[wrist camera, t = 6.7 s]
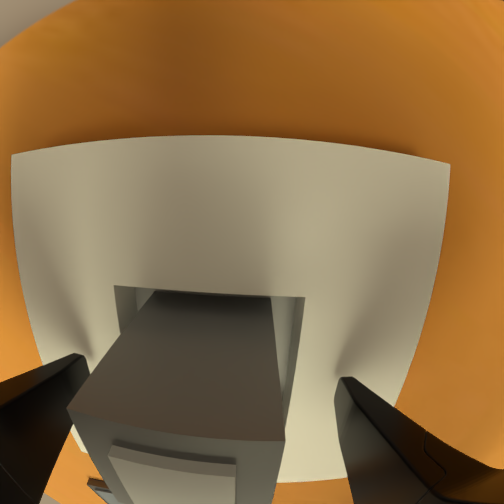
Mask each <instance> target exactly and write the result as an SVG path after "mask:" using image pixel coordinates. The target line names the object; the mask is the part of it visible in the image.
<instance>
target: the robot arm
mask: <svg viewBox="0 0 504 504" xmlns="http://www.w3.org/2000/svg"><path fill="white" fill-rule="evenodd" d="M89 376H90V371H89V368H88V364H87V360H86V357H85V356H84V355H82V354H77V353H72V354H70V355H67V356H65V357H62V358H60V359H58V360H55V361H53V362H50V363H48V364H45V365H43V366H40V367H38V368H35V369H33V370H31V371H28V372H26V373H23V374H21V375H18V376H15V377H13V378H10V379H8V380H5V381H3V382H0V504H39V503H40V500H41V498H42V495H43V493H44V490H45V487H46V485H47V482H48V480H49V478H50V475H51V473H52V470H53V468H54V466H55V463H56V461H57V459H58V456H59V454H60V452H61V450H62V447H63V445H64V443H65V441H66V438H67V436H68V434H69V432H70V430H71V428H72V426H73V422H72V420H71V418H70V415H69V413H68V411H67V406H68V405H69V403H70V402H71V401H72V399H73V398H74V396H75V395H76V394H77V392H78V391H79V389H80V388H81V387H82V385H83V384H84V382H85V381H86V380H87V378H88V377H89ZM334 408H335V415H336V423H337V431H338V439H339V444H340V449H341V452H342V456H343V460H344V464H345V468H346V472H347V476H348V480H349V484H350V489H351V493H352V497H353V501H354V504H504V469H495V468H492V467H489V466H487V465H485V464H483V463H481V462H479V461H477V460H475V459H473V458H471V457H469V456H467V455H465V454H464V453H462V452H460V451H458V450H456V449H455V448H453V447H451V446H449V445H448V444H446V443H444V442H443V441H441V440H440V439H438V438H437V437H435V436H434V435H432V434H431V433H430V432H428V431H426V430H425V429H424V428H422V427H421V426H420V425H418V424H417V423H415V422H414V421H413V420H411V419H410V418H408V417H407V416H406V415H404V414H403V413H401V412H400V411H399V410H397V409H396V408H395V407H393V406H392V405H390V404H389V403H388V402H386V401H385V400H384V399H382V398H381V397H380V396H378V395H377V394H376V393H374V392H373V391H372V390H370V389H369V388H368V387H366V386H365V385H364V384H362V383H361V382H360V381H358V380H357V379H356V378H354V377H352V376H346V377H340V378H339V380H338V384H337V387H336V391H335V395H334Z"/></svg>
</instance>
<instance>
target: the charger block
mask: <svg viewBox="0 0 504 504" xmlns="http://www.w3.org/2000/svg"><path fill="white" fill-rule="evenodd" d="M67 411H68V413H69V415H70V418H71V420H72V422H73V424H74V426H75V428H76V430H77V432H78V434H79V436H80V438H81V440H82V442H83V444H84V446H85V448H86V450H87V452H88V454H89V456H90V457H91V459H92V461H93V463H94V465H95V466H96V468H97V470H98V471H99V473H100V475H101V476H102V478H103V480H104V481H105V483H106V484H107V486H108V488H109V489H110V491H111V492H112V494H113V495H114V497H115V498H116V500H117V501H118V502H120V503H124V504H271V503H272V499H273V495H274V491H275V487H276V483H277V479H278V474H279V470H280V466H281V461H282V456H283V452H284V447H285V442H286V439H285V428H284V418H283V408H282V398H281V388H280V378H279V368H278V359H277V349H276V340H275V331H274V322H273V312H272V304H271V298H251V297H231V296H214V295H198V294H184V293H170V292H158V291H154V292H153V294H152V295H151V296H150V297H149V299H148V300H147V301H146V302H145V304H144V305H143V306H142V307H141V309H140V310H139V311H138V312H137V314H136V315H135V316H134V317H133V319H132V320H131V321H130V323H129V324H128V325H127V326H126V328H125V329H124V330H123V332H122V333H121V334H120V335H119V337H118V338H117V339H116V341H115V342H114V343H113V345H112V346H111V347H110V349H109V350H108V351H107V353H106V354H105V355H104V357H103V358H102V359H101V361H100V362H99V363H98V365H97V366H96V367H95V369H94V370H93V371H92V373H91V374H90V376H89V377H88V378H87V380H86V381H85V382H84V384H83V385H82V387H81V388H80V389H79V391H78V392H77V394H76V395H75V396H74V398H73V399H72V401H71V402H70V403H69V405H68V406H67Z"/></svg>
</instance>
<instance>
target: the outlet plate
mask: <svg viewBox="0 0 504 504" xmlns="http://www.w3.org/2000/svg"><path fill="white" fill-rule="evenodd" d="M449 179H450V164H448V163H444V162H439V161H435V160H431V159H426V158H421V157H417V156H412V155H407V154H402V153H396V152H391V151H385V150H379V149H373V148H367V147H360V146H353V145H346V144H338V143H330V142H321V141H311V140H301V139H289V138H274V137H257V136H227V135H185V136H155V137H138V138H124V139H113V140H102V141H93V142H85V143H77V144H69V145H62V146H56V147H50V148H44V149H38V150H33V151H27V152H22V153H17V154H12V156H11V198H12V217H13V229H14V239H15V247H16V255H17V262H18V268H19V274H20V280H21V285H22V290H23V295H24V299H25V304H26V308H27V312H28V316H29V320H30V324H31V328H32V331H33V335H34V338H35V342H36V345H37V348H38V351H39V355H40V358H41V361H42V363H43V365H45V364H48V363H50V362H53V361H55V360H58V359H60V358H62V357H65V356H67V355H70V354H72V353H77V354H82V355H84V356H85V357H86V360H87V364H88V368H89V371H90V374H91V373H92V371H93V370H94V369H95V367H96V366H97V365H98V363H99V362H100V361H101V359H102V358H103V357H104V355H105V354H106V353H107V351H108V350H109V349H110V347H111V346H112V345H113V343H114V342H115V341H116V339H117V338H118V337H119V335H120V334H121V333H122V332H123V330H124V329H125V328H126V326H127V325H128V324H129V323H130V321H131V320H132V319H133V317H134V316H135V315H136V314H137V312H138V311H139V310H140V309H141V307H142V306H143V305H144V304H145V302H146V301H147V300H148V299H149V297H150V296H151V295H152V294H153V292H154V291H158V292H170V293H184V294H198V295H214V296H231V297H251V298H271V304H272V312H273V322H274V331H275V340H276V349H277V359H278V368H279V378H280V388H281V398H282V408H283V418H284V428H285V439H286V442H285V447H284V452H283V456H282V461H281V466H280V470H279V474H278V479H277V483H282V482H306V481H319V480H330V479H339V478H346V477H348V476H347V472H346V468H345V464H344V460H343V456H342V452H341V449H340V444H339V439H338V431H337V423H336V415H335V408H334V395H335V391H336V387H337V384H338V380H339V378H340V377H346V376H352V377H354V378H356V379H357V380H358V381H360V382H361V383H362V384H364V385H365V386H366V387H368V388H369V389H370V390H372V391H373V392H374V393H376V394H377V395H378V396H380V397H381V398H382V399H384V400H385V401H386V402H388V403H389V404H390V405H392V406H393V407H394V405H395V403H396V401H397V398H398V396H399V394H400V391H401V389H402V386H403V384H404V381H405V378H406V376H407V373H408V370H409V368H410V365H411V362H412V359H413V356H414V353H415V350H416V347H417V344H418V341H419V338H420V335H421V331H422V328H423V325H424V321H425V318H426V314H427V310H428V307H429V303H430V299H431V295H432V291H433V286H434V282H435V277H436V273H437V268H438V263H439V257H440V252H441V246H442V240H443V234H444V227H445V219H446V211H447V202H448V192H449ZM70 431H71V433H72V435H73V437H74V438H75V440H76V442H77V444H78V446H79V448H80V450H81V451H82V452H85V453H88V452H87V450H86V448H85V446H84V444H83V442H82V440H81V438H80V436H79V434H78V432H77V430H76V428H75V426H74V424H73V426H72V428H71V430H70Z"/></svg>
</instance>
